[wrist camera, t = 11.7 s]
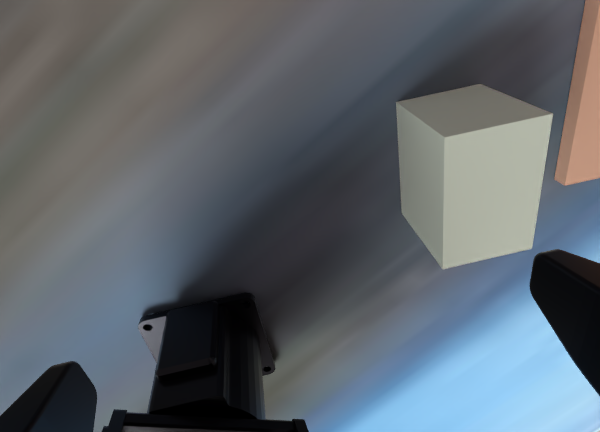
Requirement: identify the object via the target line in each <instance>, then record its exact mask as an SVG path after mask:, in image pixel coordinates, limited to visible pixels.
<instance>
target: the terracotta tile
mask: <svg viewBox="0 0 600 432" xmlns="http://www.w3.org/2000/svg"><path fill="white" fill-rule="evenodd" d="M596 178H600V0H586V1H585V7H584V12H583V18H582V24H581V29H580V35H579V41H578V47H577V52H576V58H575V64H574V69H573V75H572V81H571V87H570V92H569V98H568V104H567V109H566V115H565V121H564V127H563V132H562V138H561V144H560V149H559V155H558V161H557V167H556V172H555V178H554V179H555V180H556V181H558V182H560V183H561V184H563V185H564V186H565V185H570V184H574V183H579V182H583V181H588V180H592V179H596Z"/></svg>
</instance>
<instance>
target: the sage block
mask: <svg viewBox="0 0 600 432" xmlns="http://www.w3.org/2000/svg"><path fill="white" fill-rule="evenodd" d="M396 110H397V130H398V150H399V170H400V190H401V210H402V214H403V216H404V217H405V218H406V220H407V221H408V223H409V224H410V225H411V227H412V228H413V229H414V231H415V232H416V234H417V235H418V236H419V238H420V239H421V240H422V242H423V243H424V244H425V246H426V247H427V249H428V250H429V251H430V253H431V254H432V255H433V257H434V258H435V260H436V261H437V262H438V264H439V265H440V266H441V268H442V269H446V268H451V267H455V266H459V265H464V264H468V263H472V262H476V261H481V260H485V259H489V258H494V257H498V256H502V255H507V254H511V253H515V252H519V251H524V250H528V249H532V245H533V239H534V232H535V226H536V219H537V213H538V207H539V200H540V194H541V188H542V181H543V175H544V168H545V162H546V156H547V149H548V143H549V137H550V130H551V124H552V117H553V113H550V112H548V111H546V110H543V109H541V108H538V107H536V106H533V105H531V104H528V103H526V102H524V101H521V100H519V99H516V98H514V97H511V96H509V95H506V94H504V93H502V92H499V91H497V90H494V89H492V88H489V87H487V86H484V85H482V84H477V85H472V86H468V87H463V88H459V89H454V90H449V91H445V92H440V93H436V94H431V95H426V96H422V97H417V98H413V99H408V100H403V101H399V102H396Z"/></svg>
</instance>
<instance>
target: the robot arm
mask: <svg viewBox="0 0 600 432" xmlns="http://www.w3.org/2000/svg"><path fill="white" fill-rule="evenodd" d="M530 291H531V294H532V296H533V298H534V300H535V301H536V303H537V305H538V306H539V308H540V309H541V311H542V313H543V314H544V316H545V317H546V319H547V320H548V322H549V324H550V325H551V327H552V328H553V330H554V332H555V333H556V335H557V336H558V338H559V340H560V341H561V343H562V344H563V346H564V347H565V349H566V351H567V352H568V354H569V355H570V357H571V358H572V360H573V361H574V363H575V364H576V366H577V367H578V368H579V370H580V371H581V372H582V374H583V375H584V376H585V378H586V379H587V380H588V382H589V383H590V384H591V385H592V387H593V388H594V389H595V391H596V392H597V393H598V394H599V396H600V263H597V262H594V261H591V260H588V259H586V258H583V257H580V256H577V255H574V254H571V253H569V252H566V251H563V250H559V249H555V250H550V251H546V252H541V253H539V254H537V255H536V256H535V258H534V261H533V267H532V273H531V279H530ZM245 301H248V302H249V303H243V302H245ZM146 324H150V325H151V326H148V325H146ZM138 329H139V331H140V333H141V335H142V337H143V338H144V340H145V342H146V344H147V346H148V348H149V350H150V351H151V353H152V355H153V357H154V359H155V361H156V363H157V365H156V370H155V376H154V381H153V386H152V391H151V396H150V401H149V406H148V411H147V413H129V412H127V410H114V411H113V414H112V417H111V420H110V423H109V426H104V427H103V430H102V432H309V431H308V429H307V426H306V423H305V421H304V420H303V419H293V420H292V421H284V420H266V419H265V405H264V391H263V377H262V376H264V375H268V374H271V373H273V372H274V370H275V362H274V359H273V356H272V352H271V349H270V346H269V343H268V339H267V336H266V333H265V330H264V327H263V323H262V320H261V317H260V314H259V310H258V307H257V304H256V301H255V298H254V296H253V295H252V294H249V293H243V294H239V295H235V296H230V297H226V298H221V299H217V300H213V301H208V302H204V303H200V304H195V305H191V306H186V307H182V308H178V309H173V310H169V311H165V312H160V313H156V314H151V315H147V316H144V317H142V318H141V319H140V322H139V325H138ZM266 366H268V367H266ZM96 404H97V393H96V389H95V387H94V385H93V384H92V382H91V381H90V379H89V378H88V376H87V375H86V373H85V372H84V371H83V369H82V368H81V366H80V365H79V364H78V363H77V362H74V361H70V362H66V363H61V364H57V365H54V366H51V367H50V368H49V369H48V370H46V371H45V372H44V373H43V374H42V375H41V376H40V377H39V378H38V379H37V380H36V381H35V382H34V383H33V384H32V385H31V386H30V387H29V388H28V389H27V390H26V391H25V392H24V393H23V394H22V395H21V396H20V397H19V398H18V399H17V400H16V401H15V402H14V403H13V404H12V405H11V406H10V407H9V408H8V409H7V410H6V411H5V412H4V413H3V414H2V415H1V416H0V432H93V428H94V420H95V412H96Z"/></svg>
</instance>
